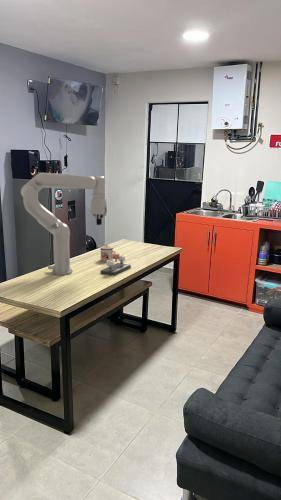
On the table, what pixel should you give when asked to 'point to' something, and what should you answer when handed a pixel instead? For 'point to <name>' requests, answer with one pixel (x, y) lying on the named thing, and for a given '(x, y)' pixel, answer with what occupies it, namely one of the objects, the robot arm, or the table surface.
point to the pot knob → (115, 256)
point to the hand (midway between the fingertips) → (99, 224)
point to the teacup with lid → (107, 252)
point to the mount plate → (115, 269)
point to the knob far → (121, 259)
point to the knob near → (110, 263)
